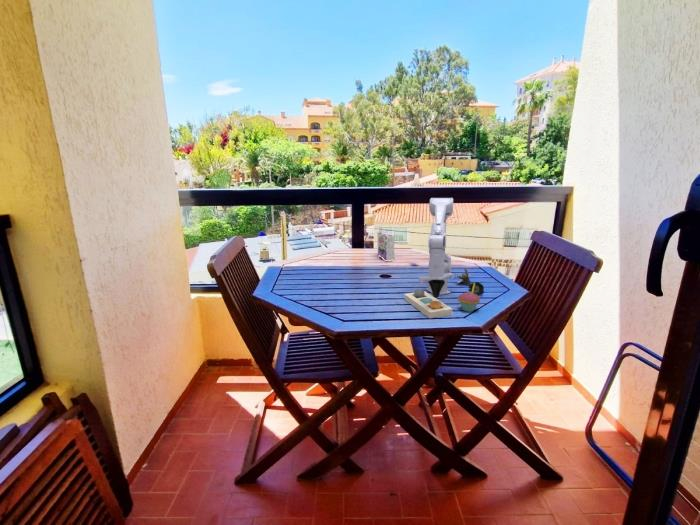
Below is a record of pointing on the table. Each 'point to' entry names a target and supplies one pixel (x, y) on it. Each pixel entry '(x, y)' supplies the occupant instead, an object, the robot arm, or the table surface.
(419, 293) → the grey button
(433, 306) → the orange button
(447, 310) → the button panel
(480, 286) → the artificial flower
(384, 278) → the table surface
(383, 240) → the candy box
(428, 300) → the teal button
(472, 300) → the cupcake
